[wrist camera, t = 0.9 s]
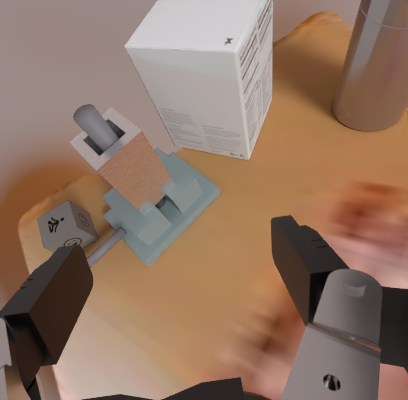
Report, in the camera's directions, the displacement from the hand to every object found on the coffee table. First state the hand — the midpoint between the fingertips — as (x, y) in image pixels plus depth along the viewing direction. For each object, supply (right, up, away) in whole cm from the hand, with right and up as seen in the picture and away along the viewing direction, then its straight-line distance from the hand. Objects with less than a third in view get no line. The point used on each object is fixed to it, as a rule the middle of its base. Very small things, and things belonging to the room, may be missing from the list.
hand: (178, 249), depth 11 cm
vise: (-7, -1, +27) cm, 28 cm away
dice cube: (-18, -3, +29) cm, 34 cm away
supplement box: (+4, +15, +32) cm, 36 cm away
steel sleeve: (-6, +4, +22) cm, 23 cm away
